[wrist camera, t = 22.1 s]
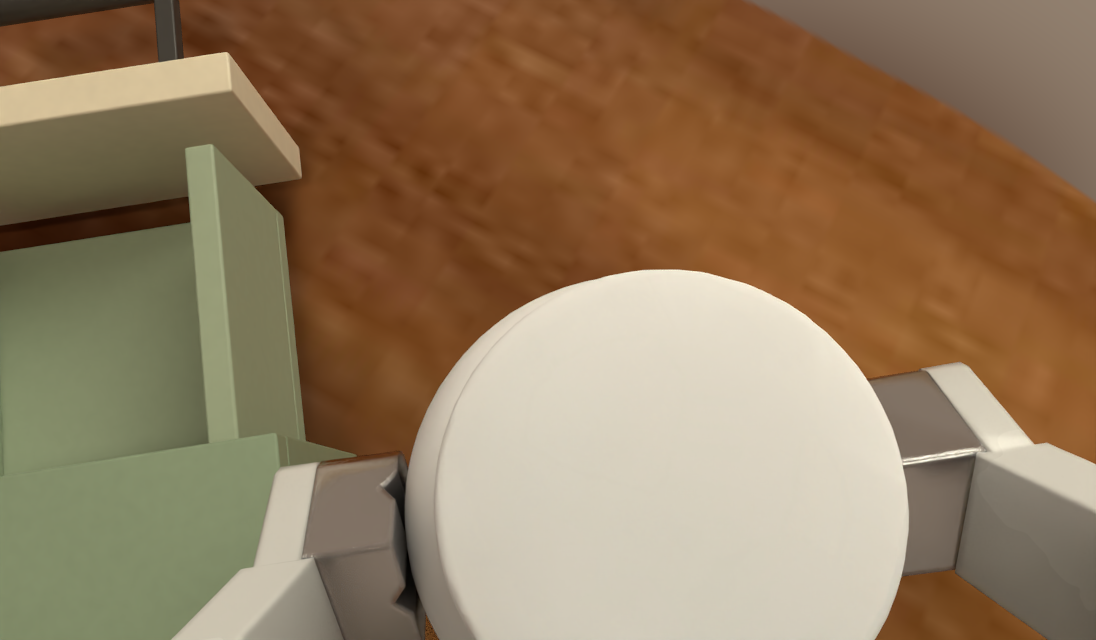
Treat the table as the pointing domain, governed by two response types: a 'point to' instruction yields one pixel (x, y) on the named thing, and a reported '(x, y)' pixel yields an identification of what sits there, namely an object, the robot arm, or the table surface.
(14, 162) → the drawer
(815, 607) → the pill bottle
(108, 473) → the cabinet
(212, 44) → the table surface
